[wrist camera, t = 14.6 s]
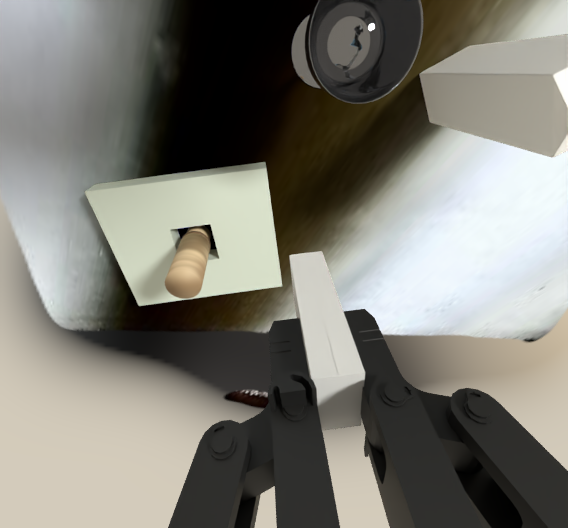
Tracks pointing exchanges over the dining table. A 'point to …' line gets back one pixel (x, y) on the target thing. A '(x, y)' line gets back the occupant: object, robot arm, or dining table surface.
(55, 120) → the dining table surface
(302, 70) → the wine glass
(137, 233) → the board
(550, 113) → the milk
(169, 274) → the peg
